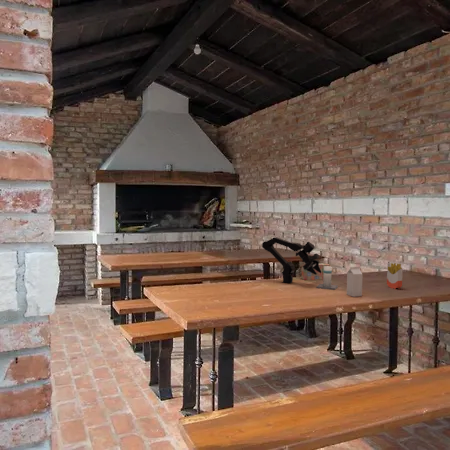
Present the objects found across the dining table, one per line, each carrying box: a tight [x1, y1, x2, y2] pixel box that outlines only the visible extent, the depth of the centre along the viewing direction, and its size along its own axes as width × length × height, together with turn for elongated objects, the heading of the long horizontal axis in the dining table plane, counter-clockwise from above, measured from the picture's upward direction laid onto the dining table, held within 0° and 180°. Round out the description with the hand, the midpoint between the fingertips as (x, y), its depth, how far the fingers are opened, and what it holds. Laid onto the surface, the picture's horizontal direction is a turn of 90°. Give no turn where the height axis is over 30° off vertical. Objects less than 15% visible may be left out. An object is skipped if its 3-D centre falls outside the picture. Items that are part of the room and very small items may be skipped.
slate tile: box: [316, 283, 339, 291], centre depth 306 cm, size 13×11×1 cm
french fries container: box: [386, 262, 404, 290], centre depth 306 cm, size 5×11×18 cm, turn 20°
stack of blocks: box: [301, 262, 331, 281], centre depth 338 cm, size 21×6×12 cm, turn 95°
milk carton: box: [346, 266, 363, 298], centre depth 281 cm, size 7×7×19 cm
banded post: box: [322, 265, 333, 287], centre depth 305 cm, size 6×6×14 cm
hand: (318, 273), depth 309 cm, fingers open, 9 cm apart
